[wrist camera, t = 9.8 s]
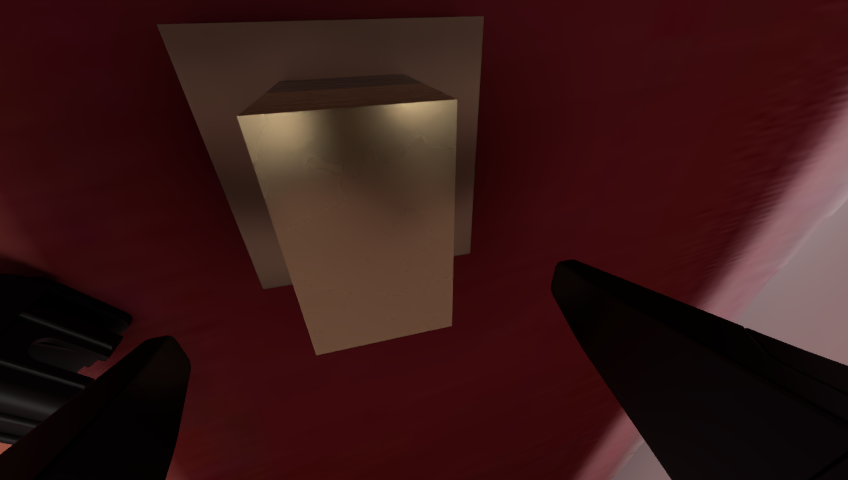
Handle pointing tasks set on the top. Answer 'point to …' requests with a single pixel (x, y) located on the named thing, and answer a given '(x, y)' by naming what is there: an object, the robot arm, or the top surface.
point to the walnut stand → (316, 59)
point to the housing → (360, 201)
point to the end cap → (48, 348)
